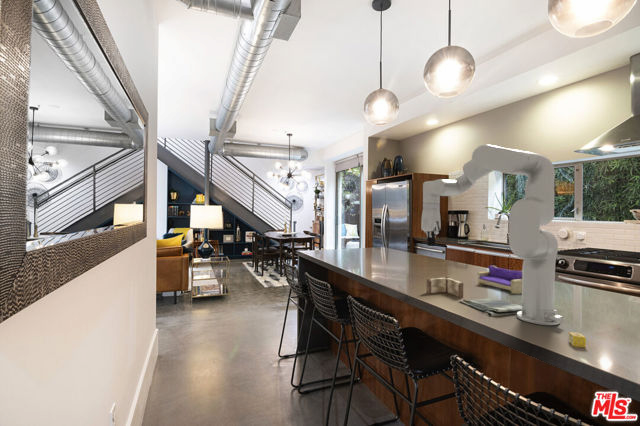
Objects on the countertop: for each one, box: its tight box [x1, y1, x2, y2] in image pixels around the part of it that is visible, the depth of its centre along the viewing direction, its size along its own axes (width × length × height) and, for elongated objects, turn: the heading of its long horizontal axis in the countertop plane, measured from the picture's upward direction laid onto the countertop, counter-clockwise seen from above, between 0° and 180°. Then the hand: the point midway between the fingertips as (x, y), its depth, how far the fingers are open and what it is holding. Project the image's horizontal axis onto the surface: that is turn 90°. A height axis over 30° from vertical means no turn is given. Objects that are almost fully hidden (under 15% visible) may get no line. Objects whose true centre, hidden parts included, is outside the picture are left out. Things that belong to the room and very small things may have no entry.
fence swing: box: [426, 277, 447, 294], centre depth 148 cm, size 10×2×6 cm, turn 110°
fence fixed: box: [444, 276, 464, 299], centre depth 145 cm, size 12×2×7 cm, turn 12°
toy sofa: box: [476, 265, 522, 295], centre depth 158 cm, size 21×9×10 cm, turn 20°
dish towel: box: [457, 297, 522, 318], centre depth 128 cm, size 19×18×3 cm
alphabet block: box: [567, 331, 587, 348], centre depth 93 cm, size 3×3×3 cm
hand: (431, 245), depth 154 cm, fingers closed
